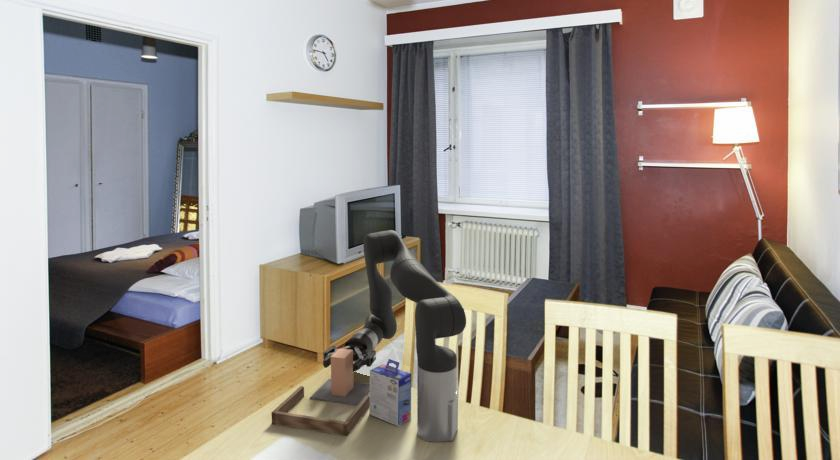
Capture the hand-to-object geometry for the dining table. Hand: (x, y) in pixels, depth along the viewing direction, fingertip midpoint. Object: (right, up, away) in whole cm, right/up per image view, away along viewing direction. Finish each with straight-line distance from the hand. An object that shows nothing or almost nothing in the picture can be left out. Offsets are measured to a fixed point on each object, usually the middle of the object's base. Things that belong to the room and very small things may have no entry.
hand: (339, 366), depth 151 cm
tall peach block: (0, -8, +3) cm, 8 cm away
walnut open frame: (-3, -10, -9) cm, 14 cm away
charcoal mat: (+1, -8, +3) cm, 9 cm away
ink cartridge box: (+14, -11, -10) cm, 20 cm away
